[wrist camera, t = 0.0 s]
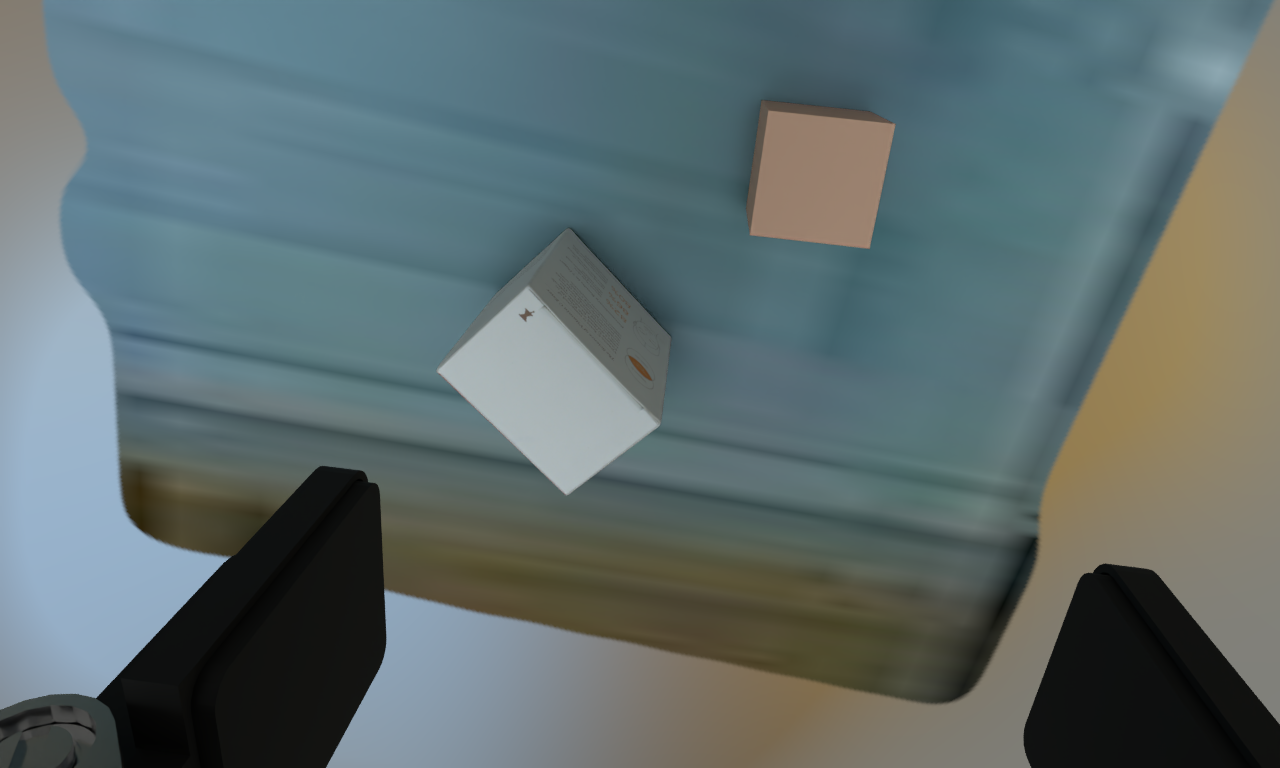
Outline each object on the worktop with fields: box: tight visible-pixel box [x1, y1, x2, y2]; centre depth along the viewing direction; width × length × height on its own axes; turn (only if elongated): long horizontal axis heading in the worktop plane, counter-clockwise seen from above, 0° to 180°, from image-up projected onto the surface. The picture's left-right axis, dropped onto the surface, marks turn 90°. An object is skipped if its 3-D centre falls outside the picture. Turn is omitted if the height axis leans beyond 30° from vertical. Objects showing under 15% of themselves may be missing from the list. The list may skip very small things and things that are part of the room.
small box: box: [437, 228, 671, 495], centre depth 38 cm, size 8×6×10 cm
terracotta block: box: [746, 100, 896, 249], centre depth 36 cm, size 5×5×6 cm
